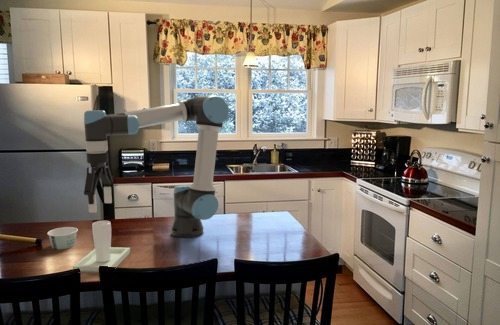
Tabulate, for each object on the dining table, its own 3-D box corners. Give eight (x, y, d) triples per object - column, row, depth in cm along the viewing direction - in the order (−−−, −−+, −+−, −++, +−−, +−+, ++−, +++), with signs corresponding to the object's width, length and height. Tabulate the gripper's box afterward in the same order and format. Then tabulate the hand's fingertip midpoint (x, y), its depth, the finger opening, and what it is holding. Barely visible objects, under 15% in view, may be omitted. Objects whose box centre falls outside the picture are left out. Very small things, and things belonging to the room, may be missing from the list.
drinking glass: (106, 264, 151) (104, 226, 148) (90, 263, 152) (88, 225, 150) (116, 257, 157) (114, 220, 155) (100, 256, 158) (98, 219, 156)
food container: (67, 251, 166) (66, 236, 165) (42, 249, 168) (40, 234, 167) (84, 241, 178) (83, 227, 177) (60, 240, 180) (59, 226, 179)
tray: (130, 252, 164) (130, 247, 164) (110, 273, 144) (110, 267, 144) (97, 252, 165) (96, 247, 165) (73, 272, 145) (72, 266, 145)
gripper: (101, 148, 161) (105, 199, 164) (70, 156, 136) (75, 216, 140) (119, 148, 161) (122, 199, 164) (92, 156, 136) (96, 216, 139)
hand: (100, 207), depth 152 cm, fingers open, 13 cm apart
